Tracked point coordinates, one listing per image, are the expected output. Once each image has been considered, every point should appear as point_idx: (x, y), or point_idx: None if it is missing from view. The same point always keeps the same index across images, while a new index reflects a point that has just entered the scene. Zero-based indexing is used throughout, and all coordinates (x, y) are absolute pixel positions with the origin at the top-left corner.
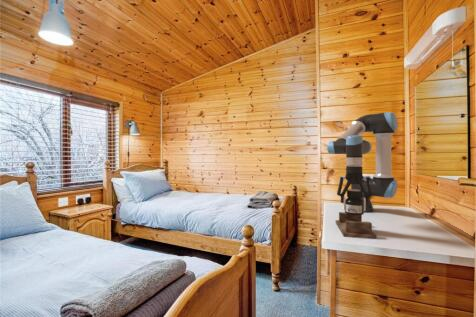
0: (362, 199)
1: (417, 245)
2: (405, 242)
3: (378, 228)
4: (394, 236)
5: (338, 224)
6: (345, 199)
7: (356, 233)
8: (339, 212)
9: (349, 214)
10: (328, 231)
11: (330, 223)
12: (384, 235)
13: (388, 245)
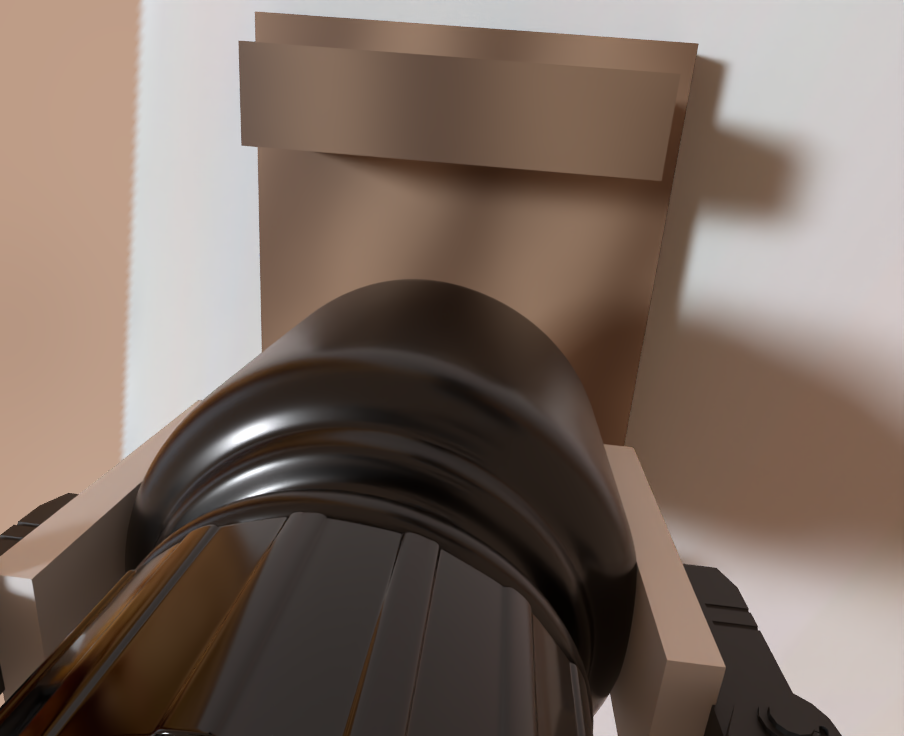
0: (644, 605)
1: (887, 724)
2: (826, 669)
3: (825, 247)
4: (833, 527)
5: (263, 265)
6: (132, 533)
7: None
8: (246, 71)
9: (428, 159)
10: (141, 425)
11: (191, 73)
12: (734, 504)
13: (614, 730)
